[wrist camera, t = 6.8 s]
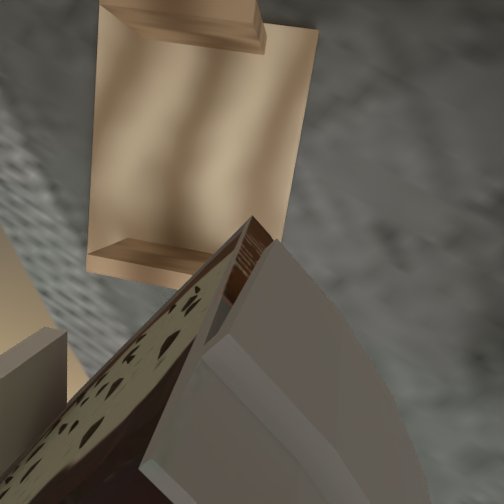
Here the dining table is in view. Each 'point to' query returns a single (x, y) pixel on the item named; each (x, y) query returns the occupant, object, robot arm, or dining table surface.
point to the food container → (230, 403)
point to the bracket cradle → (190, 132)
